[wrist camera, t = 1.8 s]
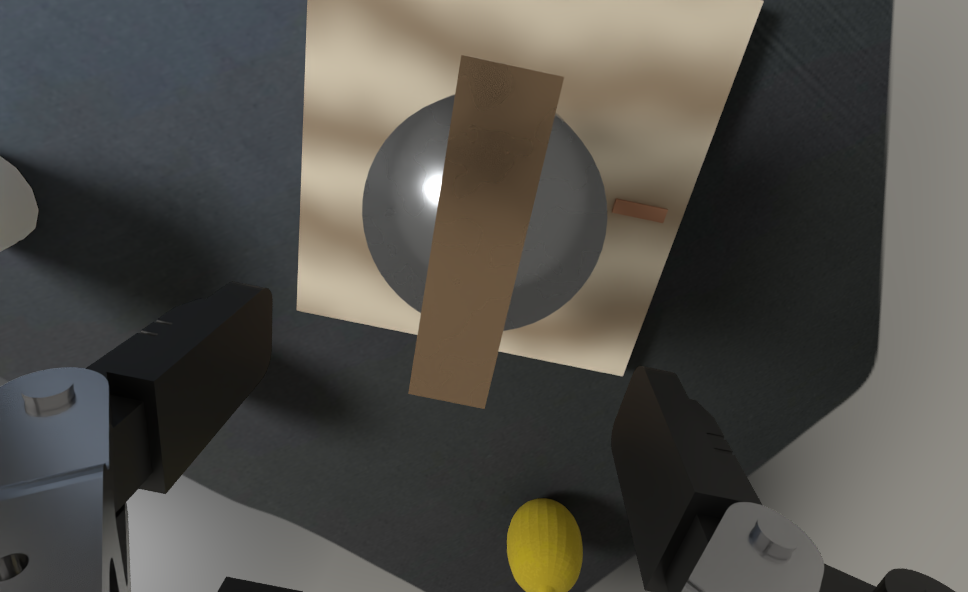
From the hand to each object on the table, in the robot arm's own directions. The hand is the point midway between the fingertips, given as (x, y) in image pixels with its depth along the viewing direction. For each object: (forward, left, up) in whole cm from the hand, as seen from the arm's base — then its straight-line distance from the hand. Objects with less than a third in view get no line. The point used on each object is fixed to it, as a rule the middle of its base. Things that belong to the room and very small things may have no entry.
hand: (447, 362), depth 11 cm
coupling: (0, 0, -19) cm, 19 cm away
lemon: (+25, +9, -21) cm, 34 cm away
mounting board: (0, 0, -21) cm, 21 cm away
